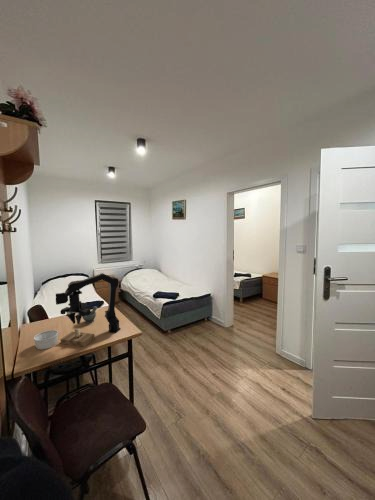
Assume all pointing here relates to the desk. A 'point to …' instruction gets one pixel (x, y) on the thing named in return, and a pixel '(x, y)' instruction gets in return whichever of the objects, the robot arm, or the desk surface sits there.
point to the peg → (77, 333)
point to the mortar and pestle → (90, 316)
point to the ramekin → (46, 339)
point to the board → (81, 341)
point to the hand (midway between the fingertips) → (76, 323)
